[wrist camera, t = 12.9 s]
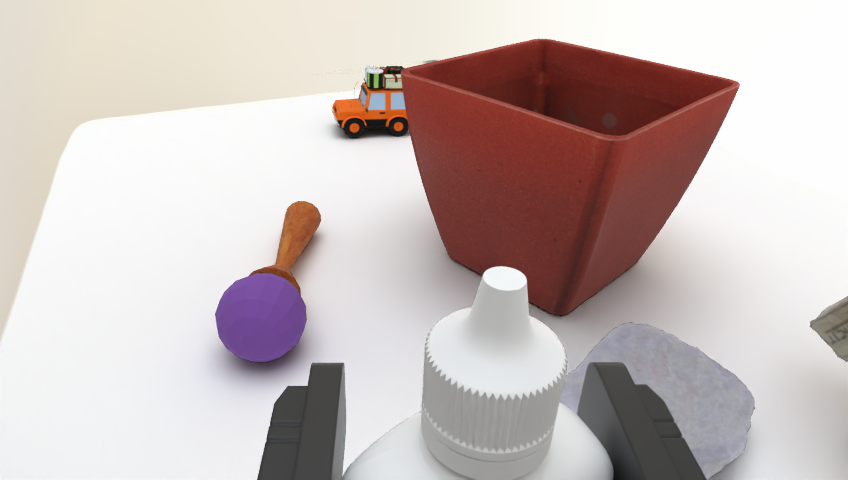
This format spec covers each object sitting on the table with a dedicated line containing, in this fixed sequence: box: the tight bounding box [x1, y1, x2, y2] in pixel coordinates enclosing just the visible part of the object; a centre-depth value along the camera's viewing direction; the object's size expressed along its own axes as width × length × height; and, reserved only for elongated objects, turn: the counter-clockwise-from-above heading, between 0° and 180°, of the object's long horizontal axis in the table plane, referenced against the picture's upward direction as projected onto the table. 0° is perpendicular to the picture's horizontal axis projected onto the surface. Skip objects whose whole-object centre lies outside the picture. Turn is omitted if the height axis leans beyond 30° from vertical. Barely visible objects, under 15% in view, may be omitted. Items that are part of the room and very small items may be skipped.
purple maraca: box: [215, 201, 321, 362], centre depth 47 cm, size 6×6×20 cm
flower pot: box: [401, 39, 739, 315], centre depth 50 cm, size 19×19×17 cm
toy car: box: [332, 65, 409, 138], centre depth 80 cm, size 7×12×9 cm, turn 107°
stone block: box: [559, 322, 755, 480], centre depth 36 cm, size 12×5×10 cm
